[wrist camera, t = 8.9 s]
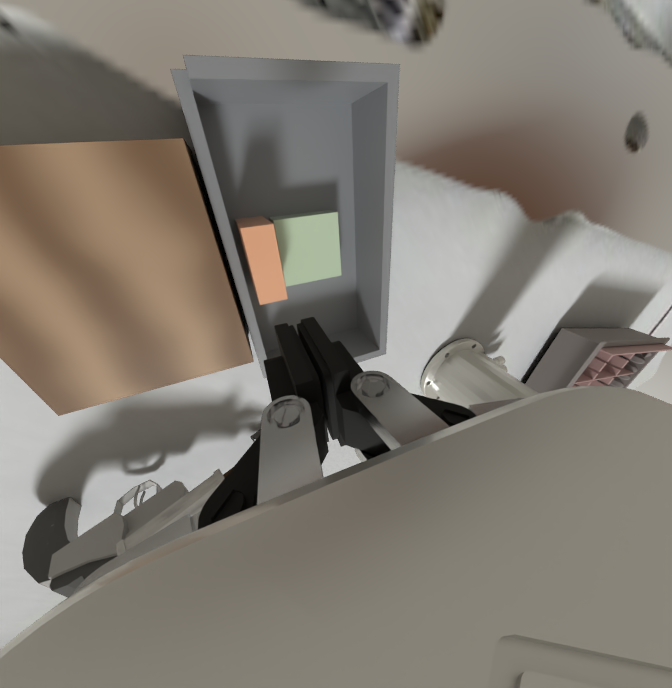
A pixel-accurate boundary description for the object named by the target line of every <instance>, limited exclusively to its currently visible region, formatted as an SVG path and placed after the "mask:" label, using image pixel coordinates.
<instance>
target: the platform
mask: <svg viewBox="0 0 672 688" xmlns="http://www.w3.org/2000/svg"><path fill="white" fill-rule="evenodd" d="M0 358H1V359H2V360H3V361H4V362H5V363H6V364H7V365H8V366H9V367H10V368H11V369H12V370H13V371H14V372H15V373H16V374H17V375H18V376H19V377H20V378H21V379H22V380H23V381H24V382H25V383H26V384H27V385H28V386H29V387H30V388H31V389H32V390H33V391H34V392H35V393H36V394H37V395H38V396H39V397H40V398H41V399H42V400H43V401H44V402H45V403H46V404H47V405H48V406H49V407H50V408H51V409H52V410H53V411H54V412H55V413H56V414H57V415H58V416H60V415H63V414H67V413H70V412H74V411H78V410H81V409H85V408H88V407H92V406H96V405H99V404H103V403H106V402H110V401H114V400H117V399H121V398H124V397H128V396H132V395H135V394H139V393H142V392H146V391H150V390H153V389H157V388H161V387H164V386H168V385H171V384H175V383H179V382H182V381H186V380H189V379H193V378H197V377H200V376H204V375H207V374H211V373H215V372H218V371H222V370H225V369H229V368H233V367H236V366H240V365H243V364H247V363H251V362H254V361H253V356H252V351H251V347H250V342H249V337H248V334H247V331H246V327H245V324H244V321H243V318H242V314H241V311H240V308H239V305H238V302H237V298H236V295H235V292H234V289H233V285H232V282H231V279H230V276H229V272H228V269H227V266H226V263H225V260H224V256H223V253H222V250H221V247H220V243H219V240H218V237H217V234H216V231H215V227H214V224H213V221H212V218H211V214H210V211H209V208H208V205H207V202H206V198H205V195H204V192H203V189H202V185H201V182H200V179H199V176H198V173H197V169H196V166H195V163H194V160H193V156H192V153H191V150H190V147H189V146H188V145H187V143H186V142H185V140H184V139H183V138H177V139H151V140H125V141H100V142H74V143H48V144H22V145H0Z"/></svg>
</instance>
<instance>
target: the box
mask: <svg viewBox="0 0 672 688" xmlns="http://www.w3.org/2000/svg"><path fill="white" fill-rule="evenodd" d="M183 58H184V62H185V66H186V69H170V70H171V73H172V76H173V80H174V83H175V86H176V90H177V93H178V96H179V100H180V103H181V106H182V109H183V113H184V116H185V119H186V123H187V126H188V129H189V133H190V136H191V139H192V142H193V146H194V149H195V152H196V156H197V159H198V162H199V166H200V169H201V172H202V175H203V179H204V182H205V185H206V189H207V192H208V195H209V199H210V202H211V205H212V209H213V212H214V215H215V218H216V222H217V225H218V228H219V232H220V235H221V238H222V242H223V245H224V248H225V251H226V255H227V258H228V261H229V265H230V268H231V271H232V275H233V278H234V281H235V284H236V288H237V291H238V294H239V298H240V301H241V304H242V308H243V311H244V314H245V318H246V321H247V324H248V327H249V331H250V334H251V337H252V341H253V344H254V347H255V351H256V354H257V357H258V360H259V364H260V367H261V370H262V374H263V377H264V378H267V375H266V371H265V366H264V361H263V360H267V359H270V358H274V357H278V356H281V354H280V350H279V345H278V341H277V337H276V333H275V329H274V326H275V325H279V324H284V323H287V324H288V326H290V325H293V326H294V328H295V330H296V332H297V334H298V331H297V324H299V323H301V319H305V318H310V317H314V318H315V319H316V321H317V322H318V324H319V325H320V327H321V328H322V329H323V331H324V332H325V334H326V335H327V337H328V338H329V340H330V341H331V342H335V341H340V342H341V343H342V344H343V345H344V346H345V348H346V349H347V350H348V352H349V353H350V354H351V356H352V357H353V358H354V360H355V361H356V362H357V363H358V362H362V361H365V360H368V359H371V358H374V357H378V356H381V355H384V354H386V343H387V322H388V301H389V280H390V259H391V238H392V217H393V196H394V175H395V153H396V133H397V112H398V91H399V90H398V89H399V70H400V64H381V63H359V62H336V61H311V60H289V59H263V58H241V57H219V56H195V55H183ZM324 210H331V211H336V212H338V225H339V242H340V259H341V276H336V277H331V278H326V279H321V280H316V281H311V282H307V283H302V284H297V285H292V286H287V287H286V286H285V287H286V292H287V297H288V299H285V300H281V301H276V302H272V303H267V304H263V305H260V303H259V301H258V298H257V295H256V293H255V290H254V287H253V284H252V281H251V277H250V274H249V270H248V266H247V262H246V258H245V255H244V251H243V247H242V243H241V239H240V236H239V232H238V228H237V224H236V220H235V219H240V218H248V217H256V216H263V217H264V218H266V219H267V220H269V217H276V216H284V215H292V214H300V213H308V212H316V211H324Z"/></svg>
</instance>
